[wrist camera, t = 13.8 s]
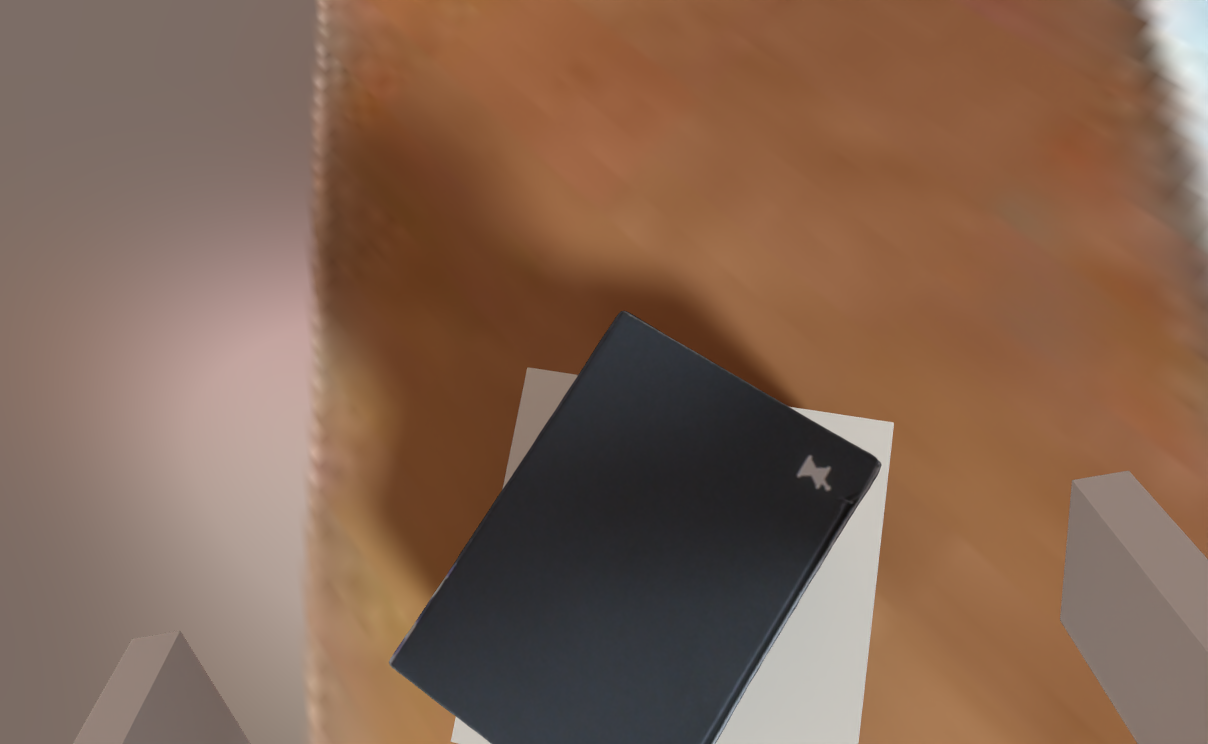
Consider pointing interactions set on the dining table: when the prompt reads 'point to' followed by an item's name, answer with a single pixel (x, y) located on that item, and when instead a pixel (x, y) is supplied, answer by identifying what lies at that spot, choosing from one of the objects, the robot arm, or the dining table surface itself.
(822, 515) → the box
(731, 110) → the dining table surface
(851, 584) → the tower top
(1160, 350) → the dining table surface
